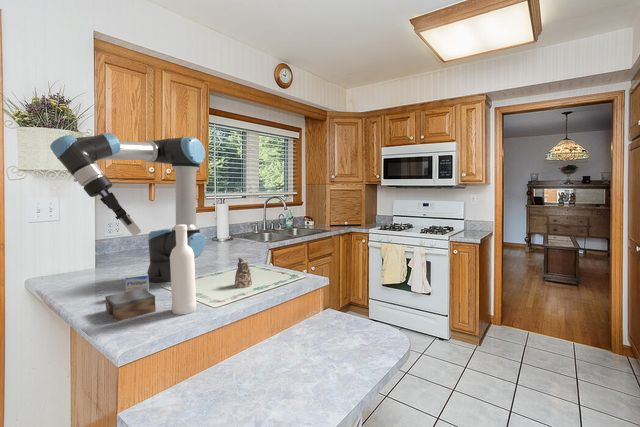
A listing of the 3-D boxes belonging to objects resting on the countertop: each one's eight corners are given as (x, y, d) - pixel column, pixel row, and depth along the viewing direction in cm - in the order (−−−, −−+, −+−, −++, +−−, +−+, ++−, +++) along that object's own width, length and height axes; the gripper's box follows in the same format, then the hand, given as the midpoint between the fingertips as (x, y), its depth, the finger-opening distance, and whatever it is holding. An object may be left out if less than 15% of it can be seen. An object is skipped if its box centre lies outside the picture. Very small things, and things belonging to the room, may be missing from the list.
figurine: (239, 288, 143) (238, 260, 142) (231, 285, 148) (231, 258, 147) (254, 285, 147) (254, 258, 146) (246, 282, 153) (245, 255, 152)
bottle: (178, 316, 113) (175, 227, 110) (167, 311, 118) (163, 225, 115) (201, 310, 119) (197, 224, 116) (189, 305, 124) (186, 223, 121)
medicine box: (126, 300, 129) (124, 278, 129) (126, 297, 133) (125, 275, 132) (149, 297, 133) (148, 275, 132) (149, 293, 137) (148, 272, 136)
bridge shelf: (143, 303, 126) (142, 288, 126) (155, 311, 118) (154, 295, 117) (106, 311, 118) (105, 296, 117) (116, 321, 109) (115, 304, 109)
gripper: (87, 193, 119) (128, 241, 123) (75, 180, 97) (125, 239, 101) (108, 181, 122) (146, 228, 127) (101, 167, 100) (148, 225, 105)
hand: (137, 233), depth 114 cm, fingers open, 13 cm apart
